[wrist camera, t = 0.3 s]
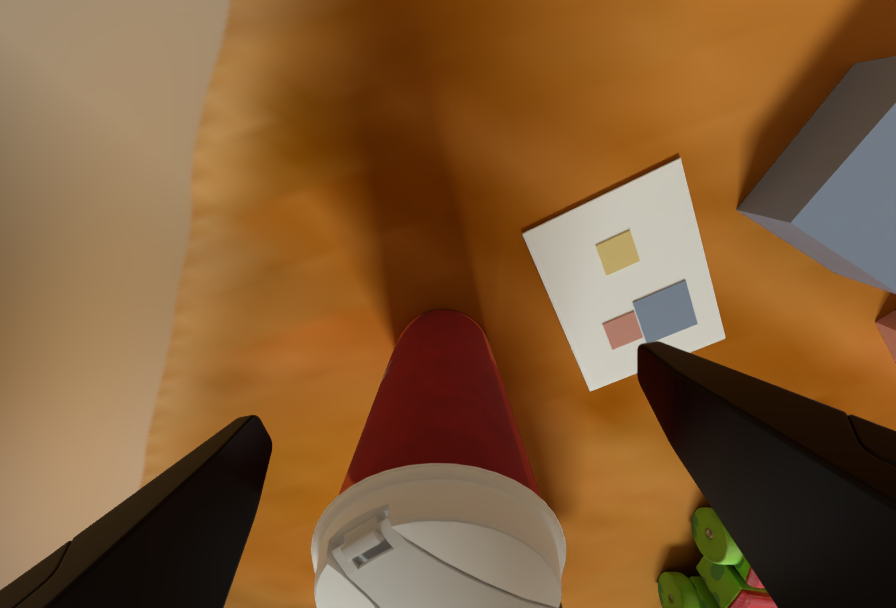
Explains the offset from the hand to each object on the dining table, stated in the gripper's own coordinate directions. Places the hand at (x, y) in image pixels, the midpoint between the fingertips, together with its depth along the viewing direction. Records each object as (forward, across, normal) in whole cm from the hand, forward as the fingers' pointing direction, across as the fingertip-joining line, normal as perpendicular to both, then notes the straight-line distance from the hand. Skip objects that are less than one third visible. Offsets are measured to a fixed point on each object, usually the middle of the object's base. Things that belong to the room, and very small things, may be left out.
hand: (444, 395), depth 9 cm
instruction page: (+14, -10, +6) cm, 18 cm away
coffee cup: (+14, +2, +8) cm, 16 cm away
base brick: (+15, -22, +2) cm, 27 cm away
